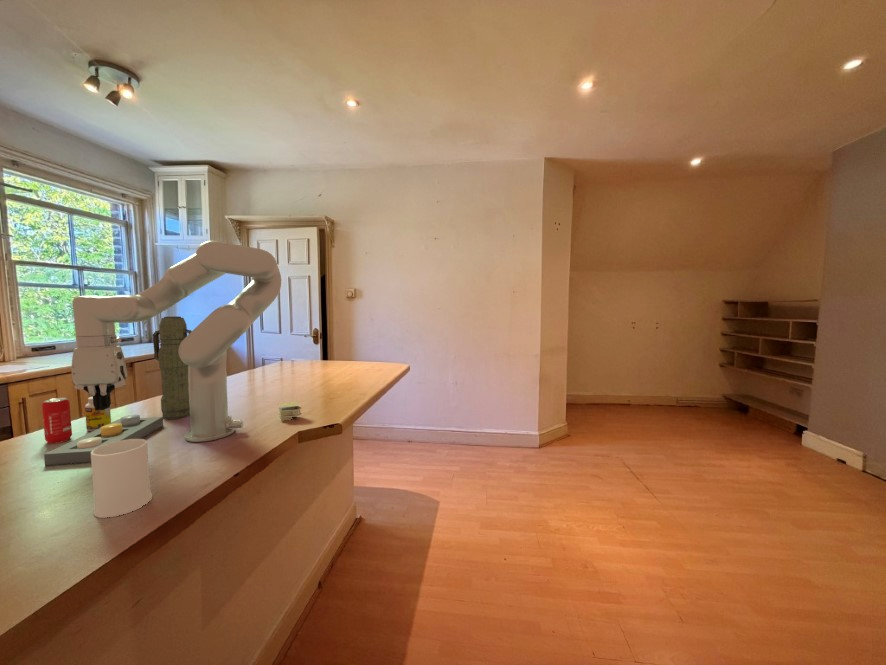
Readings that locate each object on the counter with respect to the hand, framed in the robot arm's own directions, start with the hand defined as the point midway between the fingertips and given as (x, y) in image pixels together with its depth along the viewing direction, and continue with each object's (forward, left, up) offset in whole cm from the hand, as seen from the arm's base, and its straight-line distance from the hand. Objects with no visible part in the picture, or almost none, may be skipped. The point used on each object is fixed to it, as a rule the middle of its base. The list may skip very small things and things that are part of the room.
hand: (102, 408), depth 94 cm
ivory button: (0, +5, -10) cm, 11 cm away
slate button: (0, -11, -9) cm, 14 cm away
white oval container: (-23, +31, -11) cm, 40 cm away
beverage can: (+16, -8, -11) cm, 21 cm away
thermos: (-5, -27, -11) cm, 30 cm away
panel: (0, -3, -11) cm, 11 cm away
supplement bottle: (+12, -17, -11) cm, 24 cm away
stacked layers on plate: (-44, -15, -12) cm, 48 cm away
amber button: (0, -3, -9) cm, 10 cm away
